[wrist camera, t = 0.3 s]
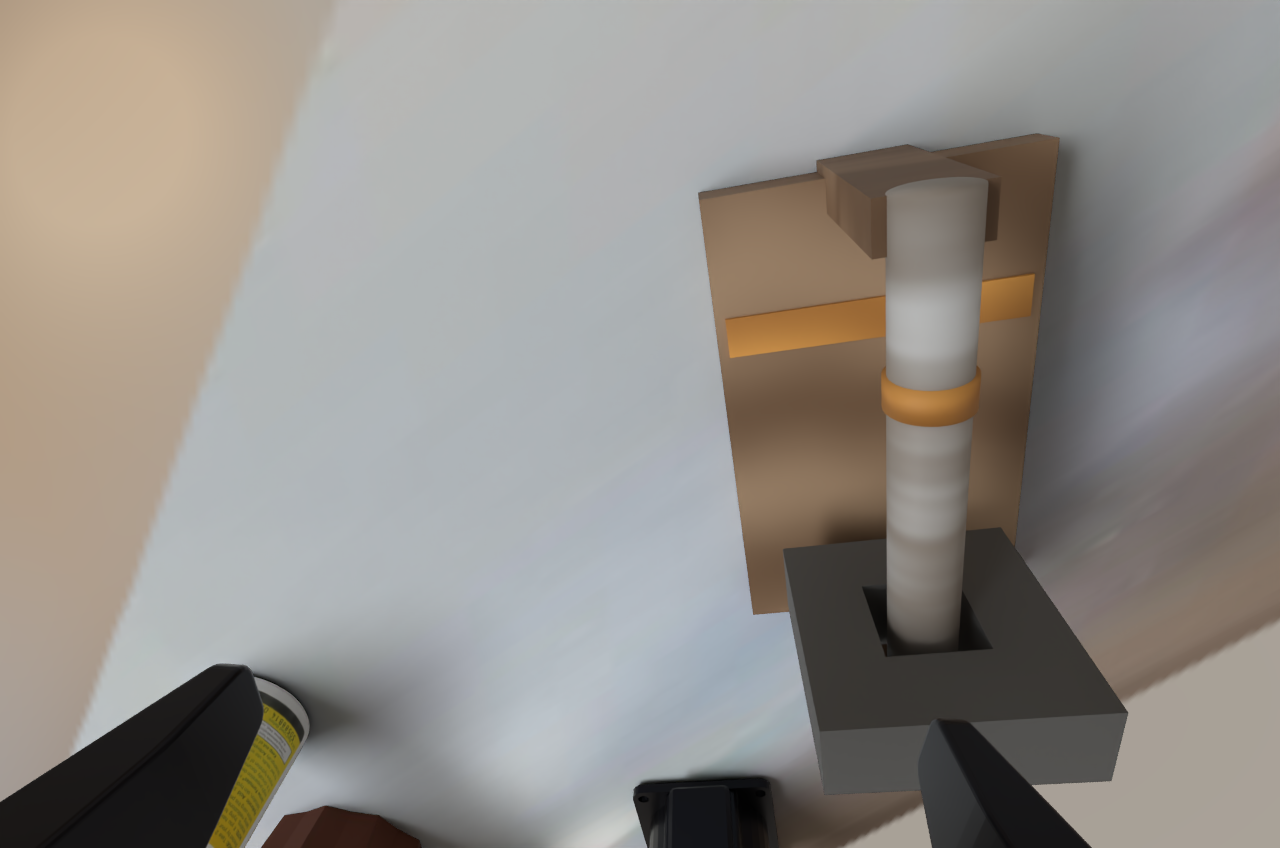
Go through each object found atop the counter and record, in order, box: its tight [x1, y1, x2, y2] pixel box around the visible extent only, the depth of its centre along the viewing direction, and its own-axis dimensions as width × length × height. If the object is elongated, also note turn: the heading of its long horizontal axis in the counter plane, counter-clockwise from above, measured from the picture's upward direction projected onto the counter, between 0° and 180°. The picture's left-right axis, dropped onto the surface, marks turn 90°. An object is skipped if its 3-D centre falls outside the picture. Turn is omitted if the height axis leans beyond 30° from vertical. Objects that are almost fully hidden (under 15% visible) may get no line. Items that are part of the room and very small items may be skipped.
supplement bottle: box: [206, 677, 310, 848], centre depth 26 cm, size 5×5×10 cm
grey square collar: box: [783, 527, 1128, 795], centre depth 18 cm, size 2×7×7 cm, turn 100°
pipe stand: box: [698, 134, 1060, 657], centre depth 18 cm, size 16×9×7 cm, turn 10°
